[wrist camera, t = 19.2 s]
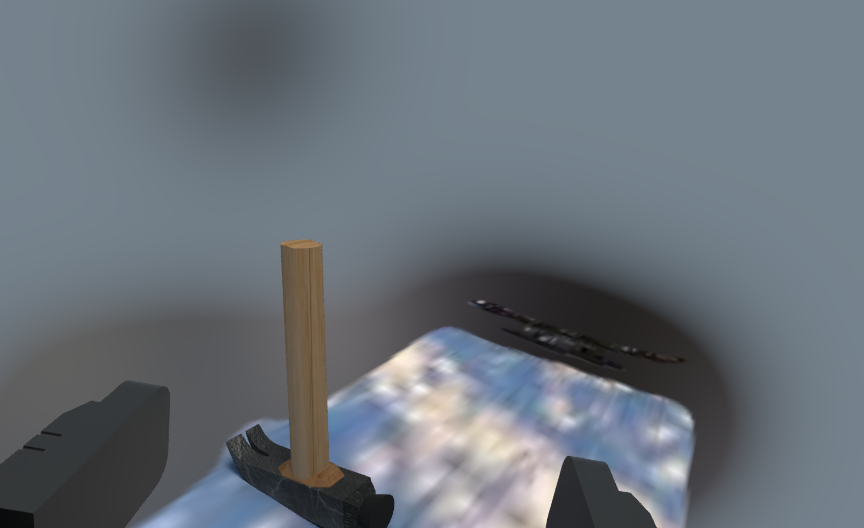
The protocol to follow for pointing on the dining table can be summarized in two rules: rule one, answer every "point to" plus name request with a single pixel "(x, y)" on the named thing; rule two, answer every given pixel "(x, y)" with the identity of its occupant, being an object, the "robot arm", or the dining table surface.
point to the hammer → (308, 416)
